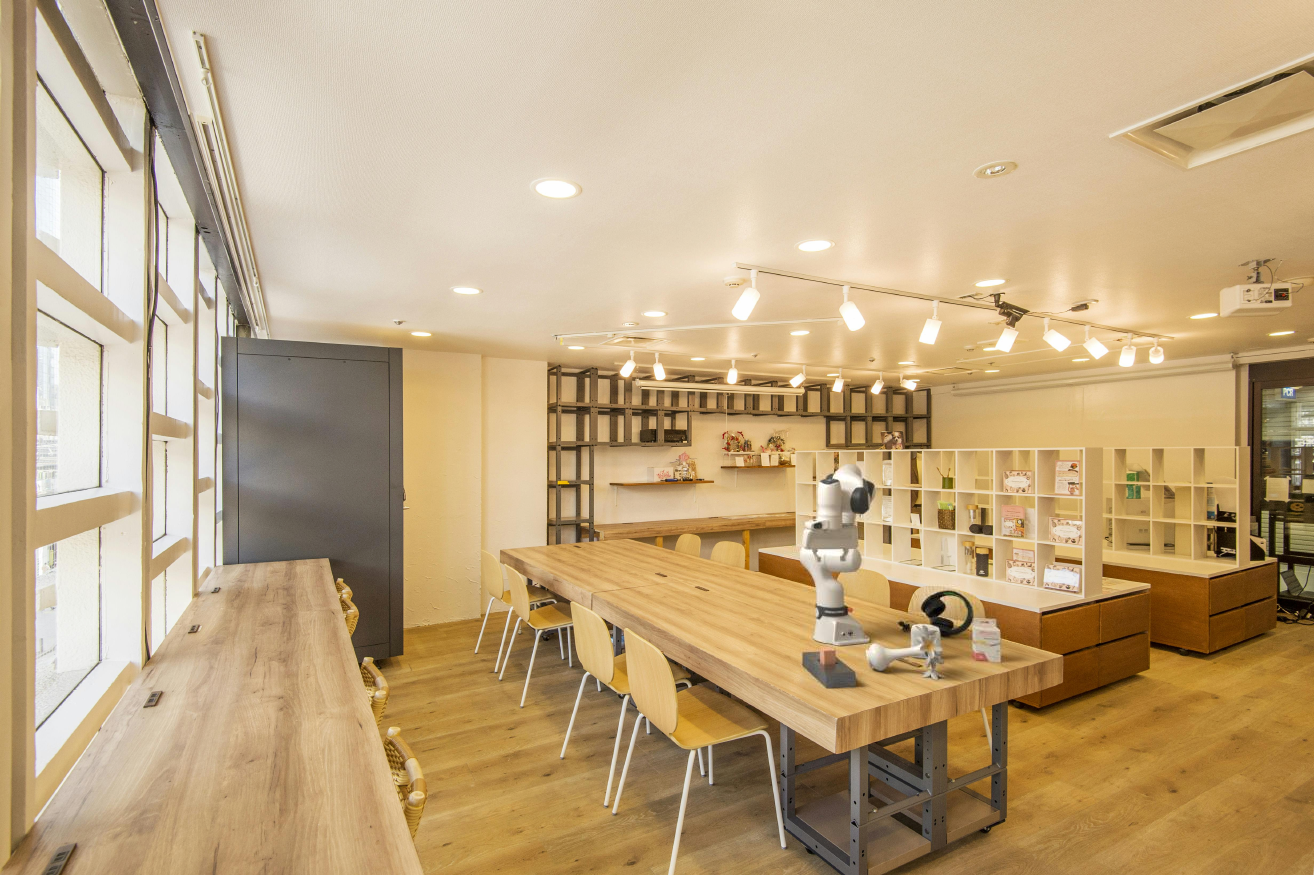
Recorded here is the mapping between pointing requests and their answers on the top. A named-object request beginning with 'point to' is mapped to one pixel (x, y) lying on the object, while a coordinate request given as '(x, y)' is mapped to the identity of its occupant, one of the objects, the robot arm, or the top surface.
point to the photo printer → (917, 633)
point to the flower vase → (908, 653)
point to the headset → (936, 608)
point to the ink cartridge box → (986, 640)
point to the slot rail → (829, 671)
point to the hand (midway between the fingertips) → (830, 561)
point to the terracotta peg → (827, 655)
